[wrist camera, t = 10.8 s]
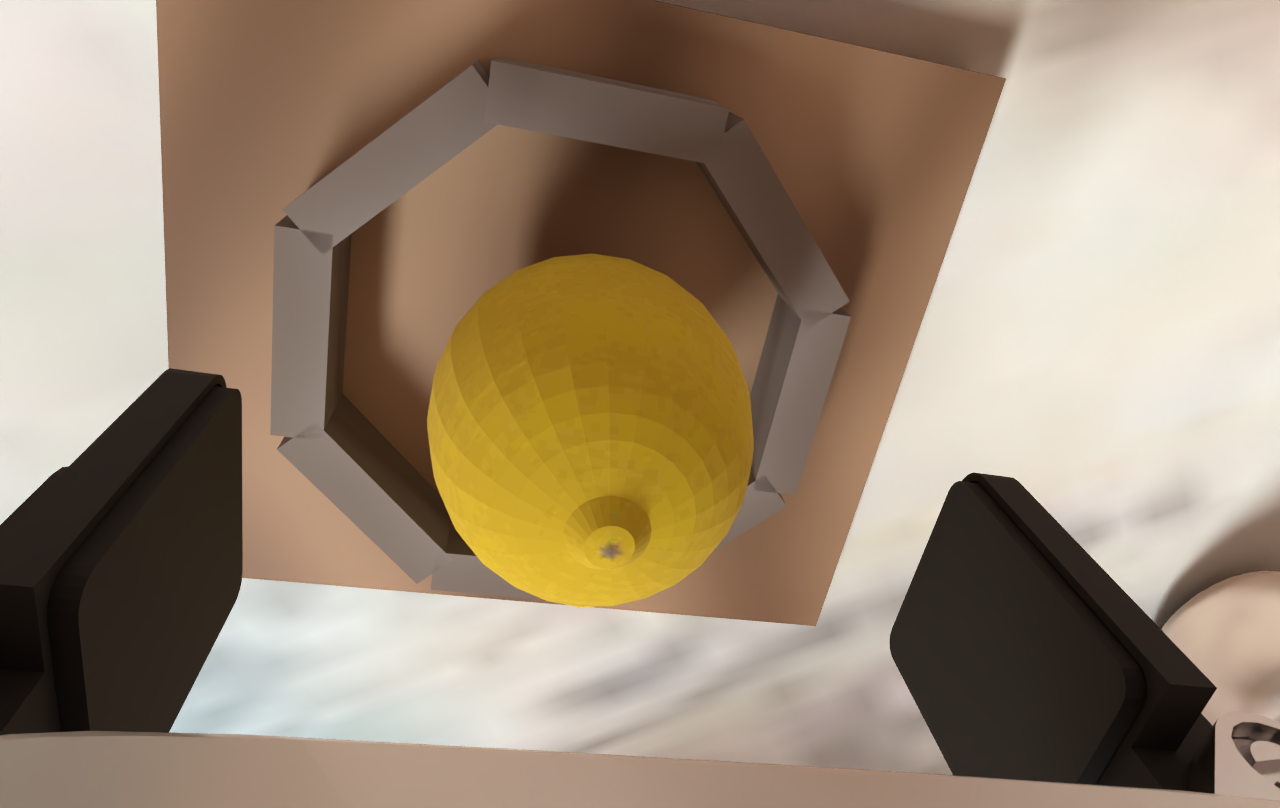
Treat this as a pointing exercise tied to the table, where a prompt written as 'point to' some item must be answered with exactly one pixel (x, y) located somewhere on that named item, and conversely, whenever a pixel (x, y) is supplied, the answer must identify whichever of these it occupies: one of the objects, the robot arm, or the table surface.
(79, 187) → the table surface
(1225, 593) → the plastic bottle
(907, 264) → the holder
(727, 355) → the lemon
